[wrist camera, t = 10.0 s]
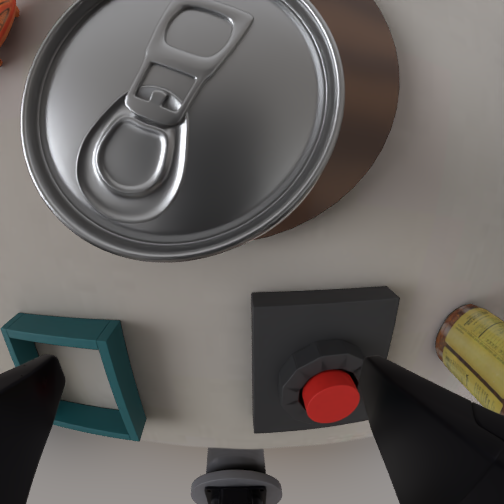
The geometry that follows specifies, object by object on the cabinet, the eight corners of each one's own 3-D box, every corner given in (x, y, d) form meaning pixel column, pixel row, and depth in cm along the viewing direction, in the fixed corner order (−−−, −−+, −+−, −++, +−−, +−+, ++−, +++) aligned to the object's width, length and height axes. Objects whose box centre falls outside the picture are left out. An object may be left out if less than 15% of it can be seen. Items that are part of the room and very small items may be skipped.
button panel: (361, 404, 24) (375, 434, 21) (252, 415, 24) (255, 450, 20) (387, 285, 21) (412, 309, 17) (251, 292, 21) (254, 321, 17)
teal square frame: (146, 418, 24) (139, 441, 21) (53, 403, 23) (42, 421, 21) (120, 320, 21) (106, 341, 18) (18, 312, 20) (0, 328, 18)
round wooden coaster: (381, 232, 20) (398, 241, 18) (67, 240, 19) (50, 249, 17) (364, -39, 14) (375, -54, 11) (83, -28, 13) (70, -41, 10)
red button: (347, 403, 20) (354, 419, 18) (299, 409, 20) (304, 426, 18) (356, 365, 19) (364, 381, 17) (304, 371, 19) (309, 388, 17)
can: (138, 171, 16) (-27, 200, 4) (189, 66, 14) (114, -76, 3) (243, 220, 17) (257, 346, 5) (297, 115, 15) (418, 30, 4)
